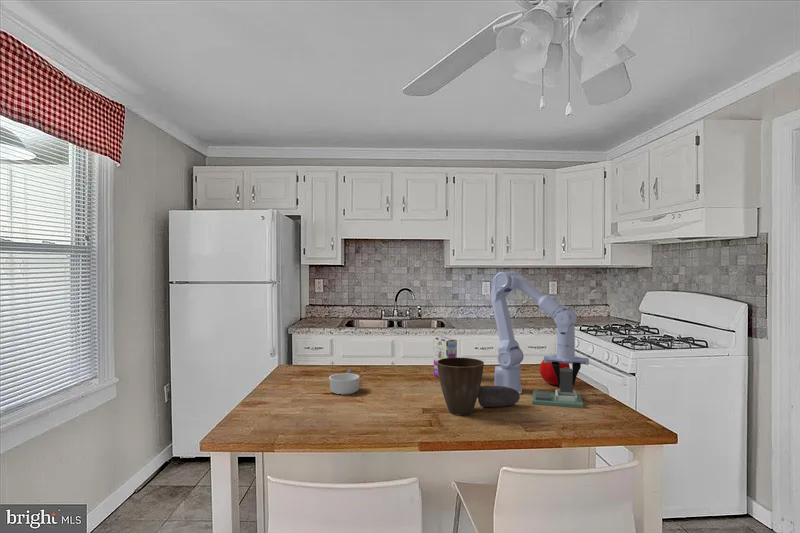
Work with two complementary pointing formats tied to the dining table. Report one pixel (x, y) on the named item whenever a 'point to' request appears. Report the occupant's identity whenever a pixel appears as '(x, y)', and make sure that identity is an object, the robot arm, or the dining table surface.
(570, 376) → the plug
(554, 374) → the tomato
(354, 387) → the saucepan
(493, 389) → the perforated stone tool
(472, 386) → the plant pot
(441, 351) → the candy bar box
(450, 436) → the dining table surface
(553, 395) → the board
